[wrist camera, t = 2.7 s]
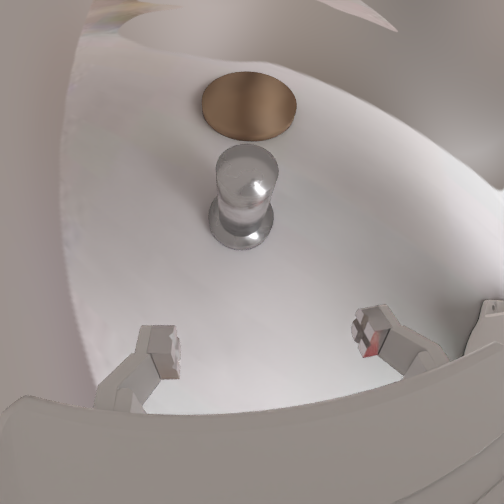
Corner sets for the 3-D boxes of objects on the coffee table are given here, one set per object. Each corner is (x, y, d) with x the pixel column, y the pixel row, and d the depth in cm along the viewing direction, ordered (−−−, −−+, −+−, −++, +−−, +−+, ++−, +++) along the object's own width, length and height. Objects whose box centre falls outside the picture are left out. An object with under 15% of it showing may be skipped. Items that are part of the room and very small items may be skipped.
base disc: (286, 80, 35) (288, 73, 33) (301, 142, 32) (304, 134, 30) (203, 80, 34) (203, 72, 32) (201, 143, 31) (200, 135, 29)
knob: (268, 191, 30) (285, 133, 20) (274, 248, 28) (298, 208, 19) (208, 193, 29) (202, 135, 20) (210, 251, 28) (201, 212, 18)
